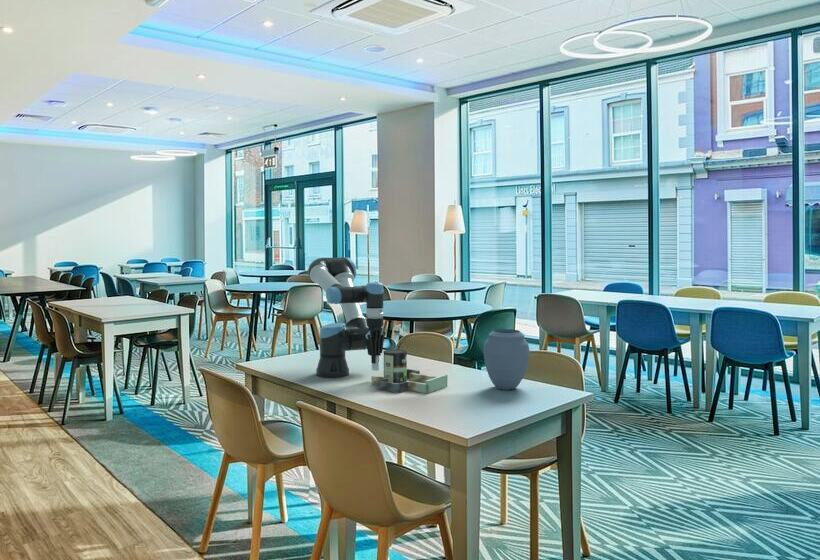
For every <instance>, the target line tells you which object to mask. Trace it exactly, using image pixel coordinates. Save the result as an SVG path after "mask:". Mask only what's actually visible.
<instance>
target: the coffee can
mask: <svg viewBox="0 0 820 560" xmlns="http://www.w3.org/2000/svg"><path fill="white" fill-rule="evenodd" d="M407 353H408V350H406V349H399V348H397V349H395V348H394V349H385V350H382V354H383V377H385V378H390V382H392V383H398V384H399V383H402V382H406V381H408V380H407V369H408V367H407V365H408V364H407V362H408V361H407V359H408V357H407V356H408V355H407Z"/></svg>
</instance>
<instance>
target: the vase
mask: <svg viewBox="0 0 820 560" xmlns="http://www.w3.org/2000/svg"><path fill="white" fill-rule="evenodd" d="M483 345H484V346H483V349H482V350H483V352H482V353H483V360H484V366H485V369H486V371H487V375H488V377H489V379H490V381H491V383H492V384H493V386H494V388H497V389H498V390H501V389H503V390H504V391H511V390H510V389H513V390H515V389H516V388H517V387H518V386H520V384H521V382H522V381H523V379H524V377H525V373H526V371H527V368H528V365H529V360H530V359H529V358H530V347H529V342H528V341H527V340H526V339H525V333H523V332H521V330H518V329H512V328H509V329H508V328H499V329H493V331H492V330H491V332H490V333H488V338H487V339H486V340H485V341H484V344H483ZM503 390H502V391H503Z"/></svg>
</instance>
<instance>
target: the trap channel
mask: <svg viewBox="0 0 820 560" xmlns="http://www.w3.org/2000/svg"><path fill="white" fill-rule="evenodd" d="M420 372H421V371H420V370H417V369H411V368H407V377H409V380H407V381H406V382H402V383H399V384H398V383H392V382H390V378H385V377H384V376H378V375H372V376H371V385H374V386H377V388H378V390H379V391H386V392H390V393H397V394H399V393H403V392H406V391H413V392H418V383H425V384H426V380H430V379H433V378H436V377H437V376H436V375H435V376H434V375H427V374H422V373H420Z"/></svg>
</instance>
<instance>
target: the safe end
mask: <svg viewBox="0 0 820 560" xmlns="http://www.w3.org/2000/svg"><path fill="white" fill-rule="evenodd" d="M446 387H448V374H442V375H439V376H436V378H433V379H430V380H426V384H425V383H418V392H419V393H424V394H425V393H426V394H430V393H432V392H436V391H438V390H441V389H444V388H446Z"/></svg>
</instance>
